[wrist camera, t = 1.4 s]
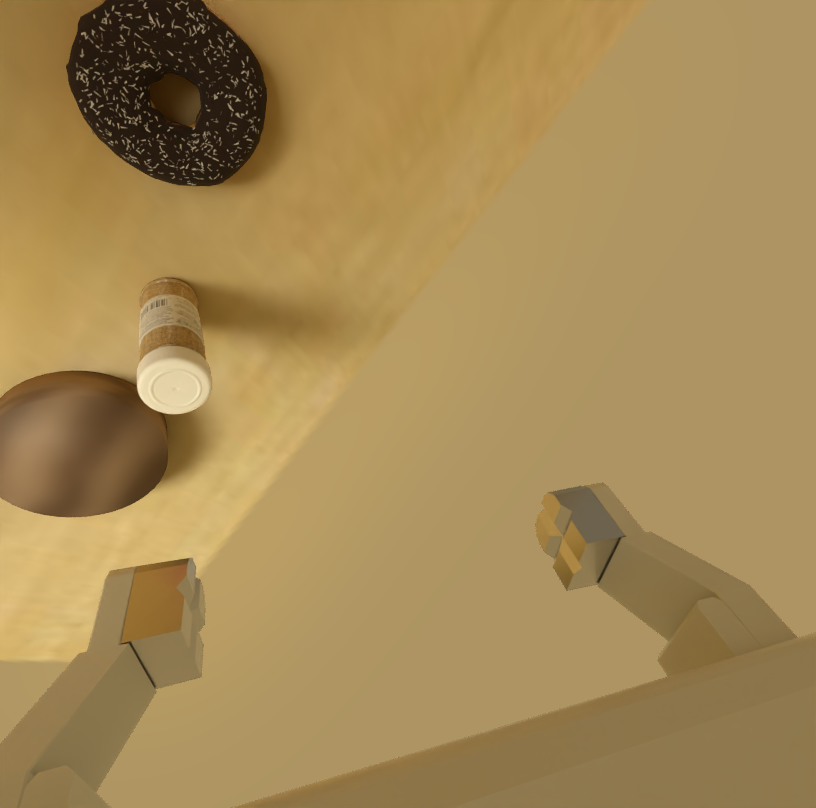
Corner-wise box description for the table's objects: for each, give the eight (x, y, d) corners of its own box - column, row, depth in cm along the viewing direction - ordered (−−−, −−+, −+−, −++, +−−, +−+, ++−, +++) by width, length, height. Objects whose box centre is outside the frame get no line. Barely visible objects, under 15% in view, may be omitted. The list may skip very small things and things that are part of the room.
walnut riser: (-40, 464, 43) (-53, 497, 41) (28, 345, 40) (19, 371, 37) (126, 500, 52) (124, 529, 50) (193, 405, 49) (196, 431, 46)
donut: (254, 189, 40) (262, 204, 37) (79, 160, 34) (73, 175, 31) (267, 21, 34) (278, 23, 31) (57, -46, 28) (47, -51, 25)
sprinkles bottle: (154, 330, 43) (155, 426, 33) (129, 284, 40) (122, 373, 30) (207, 315, 44) (223, 403, 34) (186, 268, 41) (197, 351, 31)
